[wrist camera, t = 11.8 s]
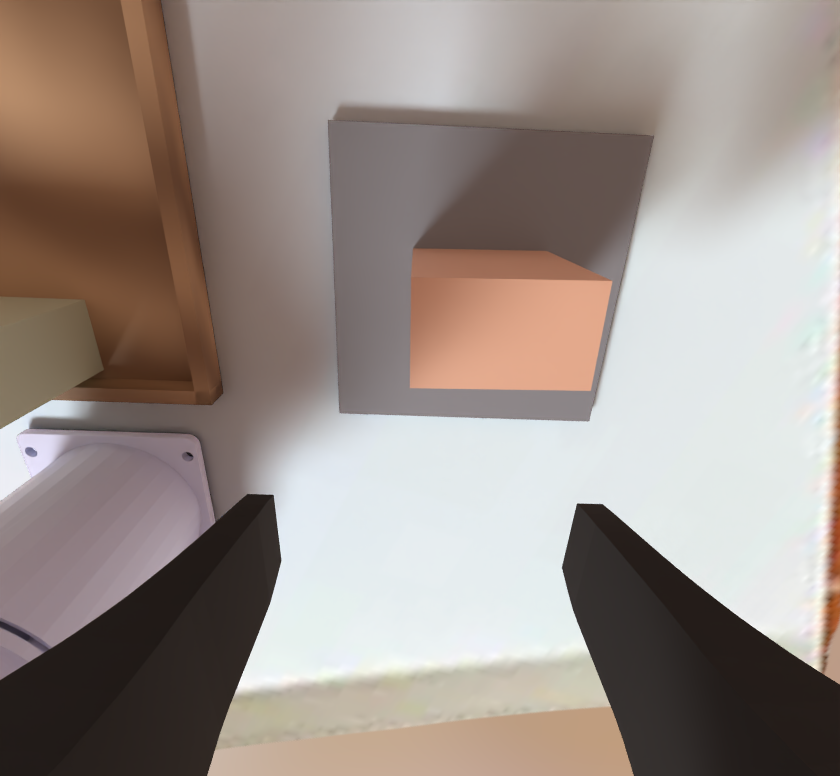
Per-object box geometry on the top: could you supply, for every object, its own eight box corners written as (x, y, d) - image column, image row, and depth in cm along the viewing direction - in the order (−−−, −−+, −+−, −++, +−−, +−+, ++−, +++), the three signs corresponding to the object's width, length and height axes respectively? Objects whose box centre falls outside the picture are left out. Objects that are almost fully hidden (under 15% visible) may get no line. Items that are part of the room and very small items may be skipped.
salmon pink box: (536, 328, 18) (590, 390, 12) (412, 326, 17) (409, 388, 12) (546, 250, 16) (612, 280, 11) (413, 248, 16) (411, 277, 11)
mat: (584, 415, 20) (589, 421, 19) (341, 407, 20) (339, 413, 19) (645, 137, 15) (654, 135, 15) (331, 122, 15) (328, 119, 15)
